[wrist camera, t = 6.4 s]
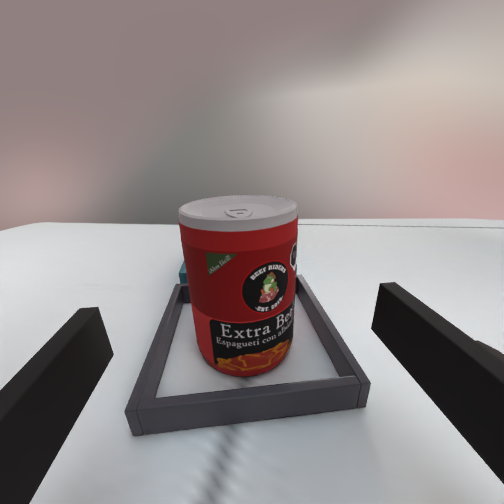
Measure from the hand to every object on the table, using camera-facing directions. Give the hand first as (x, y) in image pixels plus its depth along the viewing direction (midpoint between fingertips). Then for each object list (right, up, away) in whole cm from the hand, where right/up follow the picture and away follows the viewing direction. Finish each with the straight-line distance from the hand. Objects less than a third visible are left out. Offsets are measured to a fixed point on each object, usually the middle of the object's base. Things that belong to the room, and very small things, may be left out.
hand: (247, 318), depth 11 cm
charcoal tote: (0, -4, +8) cm, 9 cm away
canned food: (0, -4, +8) cm, 9 cm away
